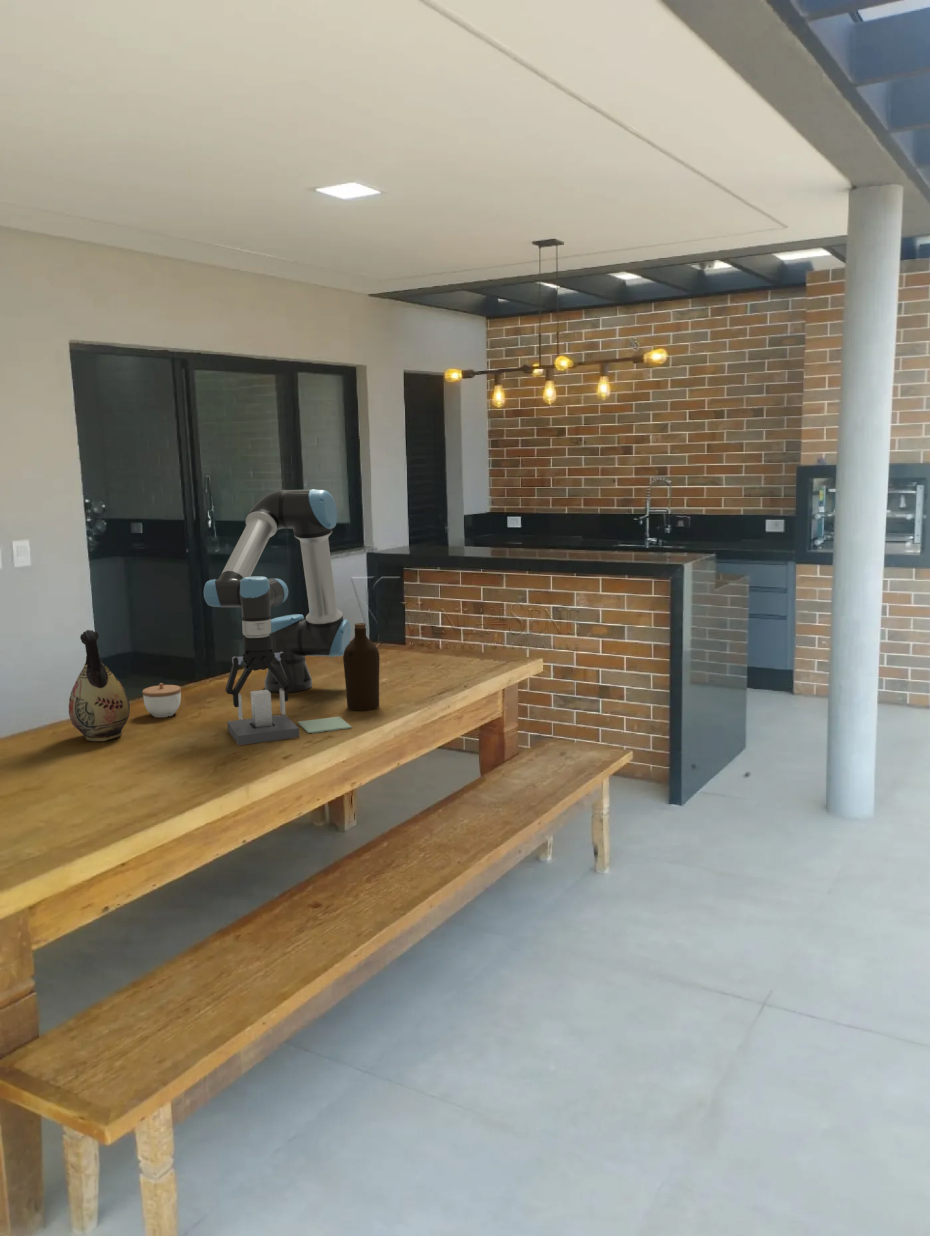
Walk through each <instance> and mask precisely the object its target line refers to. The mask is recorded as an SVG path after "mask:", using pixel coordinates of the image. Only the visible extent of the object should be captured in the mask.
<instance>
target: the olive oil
mask: <svg viewBox="0 0 930 1236" xmlns="http://www.w3.org/2000/svg"><path fill="white" fill-rule="evenodd" d="M342 656H343V657H342V662H343V670H344V671H343V672H344V679H345V692H346V705H347V709H349V710H350V711H357V712H359V711H361V712H362V711H365V712H367V711H372V710H375V709H378V708H379V707H380V659H381V658H380V651H379V649H378V647H377V646H376V644H375V643H374V642H372V640H370V638H368V636H367V628H366V623H364V622H357V623H354V637H353V638H352V639H351V640H350V642H349V644H348V645H347V647H346V648H345V650H344V654H343V655H342Z"/></svg>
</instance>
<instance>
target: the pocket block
mask: <svg viewBox="0 0 930 1236" xmlns="http://www.w3.org/2000/svg"><path fill="white" fill-rule="evenodd" d="M226 722H227V723H226V724H227V731H228V733H229V734H230V735H231V737H232V738H233V740H234V741H235V743H236V744H237V745H238V746H243V745H250V744H257V743H266V742H274V741H281V740H288V739H296V738H295V737H298V738H300V729H299V726H297V725H296V724H295V723H294V721H292V720H291V719H290V718H289V717H288V716H287V714H286V713H285V714H276V715H272V725H273V726H272V727H264V728H256V729H253V726H252V717H251V718H245V719H244V718H243V719H242V720H240V719H236V720H227V721H226Z"/></svg>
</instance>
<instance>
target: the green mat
mask: <svg viewBox="0 0 930 1236" xmlns="http://www.w3.org/2000/svg"><path fill="white" fill-rule="evenodd" d="M297 724H298V726H300V727H301V728H302V729H303V730H304V731H305V732H306V733H307V734H308V735H310V734H309V733H312V734H319V733H325V732H324V731H327V732H335V731H340V730H339V729H343V730H349V729H348V728H350V729H352V727H353V726H352V725H350V724H349V723H348V722H347V721H345V720H344V719H343V718H342V717H340V716H333V717H325V718H323V717H322V718H316V719H308V720H300V721H297Z"/></svg>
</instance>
